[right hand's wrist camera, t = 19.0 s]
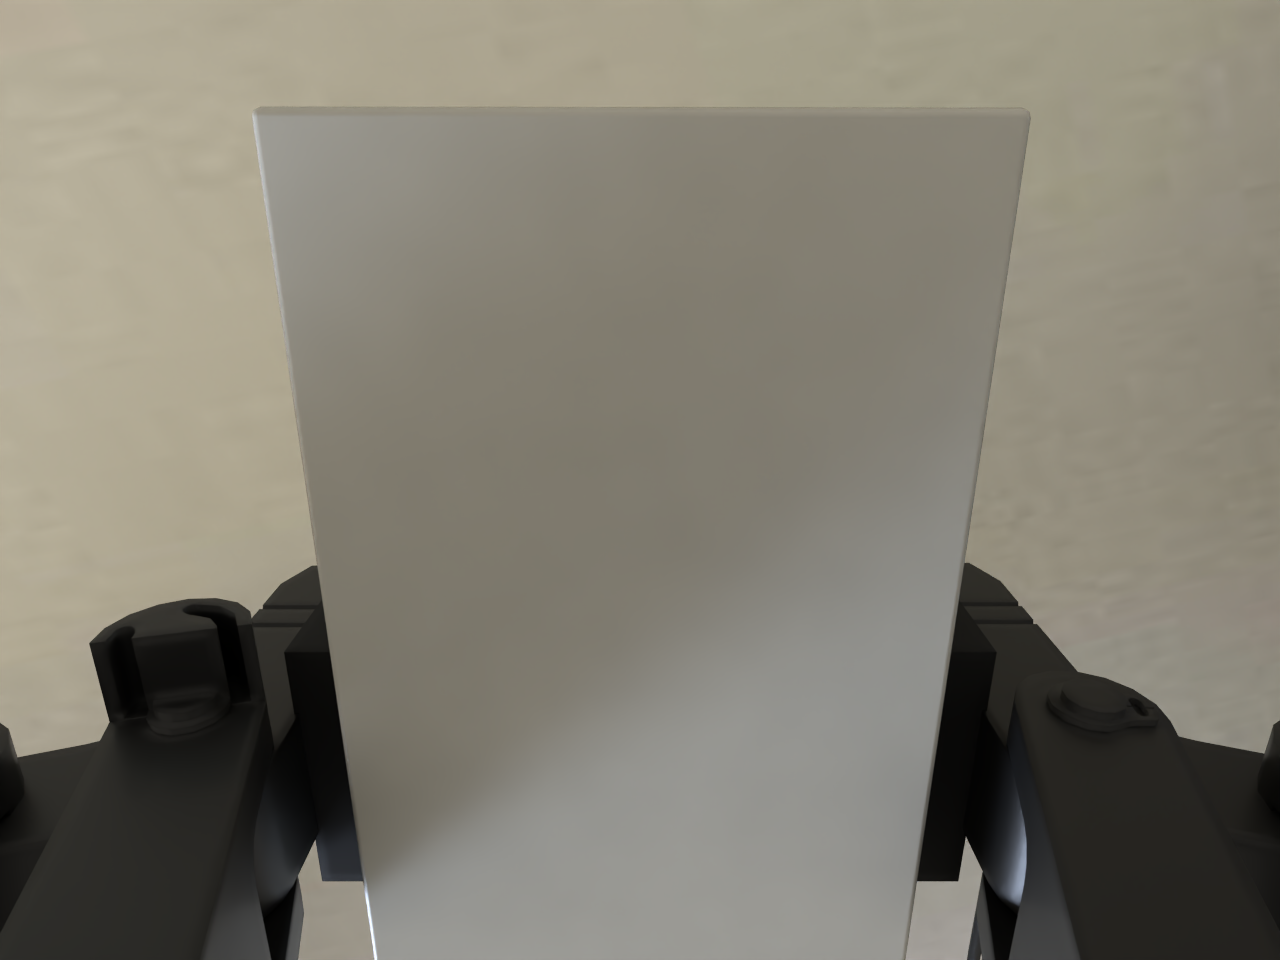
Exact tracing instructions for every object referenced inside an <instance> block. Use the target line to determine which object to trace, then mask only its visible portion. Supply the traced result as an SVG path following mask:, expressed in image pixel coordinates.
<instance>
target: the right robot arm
mask: <svg viewBox="0 0 1280 960" xmlns="http://www.w3.org/2000/svg"><path fill="white" fill-rule="evenodd" d="M89 644H90V648H91V652H92V656H93V660H94V664H95V667H96V671H97V675H98V679H99V683H100V687H101V690H102V694H103V698H104V702H105V706H106V710H107V714H108V717H109V721H110V723H109V725H108V727H107V729H106V731H105V732H104V734H103V736H102V738H101V740H100V741H98V742H94V743H90V744H86V745H80V746H75V747H70V748H65V749H59V750H54V751H49V752H44V753H38V754H33V755H28V756H23V757H18V758H17V755H16V752H15V748H14V745H13V742H12V739H11V735H10V732H9V729H8V728H6V727H5V726H4V725H2V724H1V723H0V960H298V955H299V947H300V940H301V932H302V924H303V916H304V909H303V902H302V895H301V890H300V884H299V879H298V874H299V872H300V870H301V868H302V866H303V864H304V862H305V860H306V858H307V855H308V853H309V851H310V849H311V847H312V845H313V843H314V841H315V840H316V846H317V852H318V858H319V864H320V870H321V875H322V881H363V876H362V869H361V862H360V855H359V848H358V842H357V835H356V828H355V821H354V814H353V807H352V800H351V793H350V786H349V780H348V773H347V766H346V759H345V752H344V745H343V738H342V731H341V725H340V718H339V711H338V704H337V697H336V690H335V683H334V676H333V670H332V663H331V656H330V649H329V642H328V635H327V628H326V621H325V614H324V608H323V601H322V594H321V587H320V580H319V573H318V566H311V567H309V568H307V569H306V570H304V571H302V572H301V573H299V574H297V575H295V576H294V577H292V578H290V579H289V580H287V581H285V582H283V583H282V584H280V586H279V587H278V588H277V589H276V590H275V592H274V593H273V594H272V595H271V596H270V597H269V599H268V600H267V601H266V602H265V603H264V605H263V609H259V610H258V612H257V613H256V614H255V615H254V616H253V618H252V619H251V614H250V611H249V610H247V609H246V608H245V607H243V606H242V605H240V604H239V603H238V602H233V601H228V600H223V599H217V598H207V599H186V600H181V601H176V602H170V603H165V604H160V605H156V606H153V607H150V608H147V609H145V610H142V611H139V612H136V613H133V614H130V615H128V616H126V617H124V618H122V619H121V620H119V621H117V622H115V623H113V624H112V625H110V626H108V627H106V628H104V629H103V630H102V631H101V632H100V633H99V634H98V635H97V636H96V637H95V638H94V639H93V640H92V641H91V642H90V643H89ZM966 837H967V839H968V841H969V843H970V846H971V848H972V850H973V852H974V854H975V856H976V858H977V860H978V862H979V864H980V866H981V868H982V870H983V873H982V879H981V884H980V890H979V895H978V901H977V906H976V912H975V917H974V923H973V928H972V934H971V939H970V945H969V950H968V957H967V960H980V956H981V954H982V960H1280V721H1278V722H1277V723H1276V724H1274V725H1273V728H1272V732H1271V735H1270V738H1269V741H1268V745H1267V748H1266V751H1265V754H1263V753H1258V752H1252V751H1247V750H1242V749H1236V748H1231V747H1226V746H1221V745H1215V744H1210V743H1205V742H1200V741H1195V740H1191V739H1187V738H1183V737H1179V736H1178V735H1177V733H1176V731H1175V729H1174V727H1173V725H1172V723H1171V721H1170V720H1169V719H1168V718H1167V717H1166V715H1165V714H1164V713H1163V712H1162V711H1161V710H1160V708H1159V707H1158V706H1157V705H1156V704H1155V703H1153V702H1152V701H1150V700H1149V699H1147V698H1146V697H1144V696H1143V695H1141V694H1139V693H1138V692H1136V691H1135V690H1133V689H1131V688H1129V687H1126V686H1124V685H1121V684H1119V683H1116V682H1114V681H1111V680H1109V679H1106V678H1103V677H1098V676H1094V675H1089V674H1085V673H1080V672H1077V670H1076V669H1075V668H1074V667H1073V666H1072V665H1071V663H1070V662H1069V661H1068V660H1067V659H1066V658H1065V656H1064V655H1063V654H1062V653H1061V652H1060V651H1059V649H1058V648H1057V647H1056V646H1055V645H1054V644H1053V642H1052V641H1051V640H1050V639H1049V638H1048V636H1047V635H1046V634H1045V633H1044V632H1043V631H1042V629H1041V628H1040V627H1039V626H1038V625H1037V624H1033V619H1032V618H1031V617H1030V615H1029V614H1028V613H1027V612H1026V611H1025V610H1024V608H1023V607H1022V606H1018V601H1017V600H1016V599H1015V598H1014V597H1013V596H1012V594H1011V593H1010V592H1009V591H1008V590H1007V588H1006V587H1005V586H1004V585H1003V584H1002V583H1001V581H999V580H997V579H996V578H994V577H992V576H991V575H989V574H987V573H985V572H984V571H982V570H980V569H979V568H977V567H975V566H973V565H972V564H970V563H964V568H963V575H962V582H961V588H960V595H959V602H958V608H957V615H956V622H955V629H954V635H953V642H952V649H951V655H950V662H949V669H948V676H947V682H946V689H945V696H944V702H943V709H942V716H941V722H940V729H939V736H938V743H937V749H936V756H935V763H934V769H933V776H932V783H931V790H930V796H929V803H928V810H927V816H926V823H925V830H924V837H923V843H922V850H921V857H920V863H919V870H918V877H917V881H958V879H959V873H960V867H961V861H962V855H963V849H964V844H965V838H966Z"/></svg>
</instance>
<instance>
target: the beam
mask: <svg viewBox="0 0 1280 960" xmlns="http://www.w3.org/2000/svg"><path fill="white" fill-rule="evenodd" d="M252 119H253V126H254V133H255V140H256V146H257V153H258V160H259V167H260V174H261V181H262V188H263V195H264V202H265V208H266V215H267V222H268V229H269V236H270V243H271V250H272V257H273V263H274V270H275V277H276V284H277V291H278V298H279V305H280V312H281V319H282V325H283V332H284V339H285V346H286V353H287V360H288V367H289V374H290V380H291V387H292V394H293V401H294V408H295V415H296V422H297V429H298V436H299V442H300V449H301V456H302V463H303V470H304V477H305V484H306V491H307V497H308V504H309V511H310V518H311V525H312V532H313V539H314V546H315V553H316V559H317V566H318V573H319V580H320V587H321V594H322V601H323V608H324V614H325V621H326V628H327V635H328V642H329V649H330V656H331V663H332V670H333V676H334V683H335V690H336V697H337V704H338V711H339V718H340V725H341V731H342V738H343V745H344V752H345V759H346V766H347V773H348V780H349V786H350V793H351V800H352V807H353V814H354V821H355V828H356V835H357V842H358V848H359V855H360V862H361V869H362V876H363V883H364V890H365V897H366V903H367V910H368V917H369V924H370V931H371V938H372V945H373V952H374V959H375V960H905V957H906V951H907V944H908V937H909V931H910V924H911V917H912V910H913V904H914V897H915V890H916V884H917V877H918V870H919V863H920V857H921V850H922V843H923V837H924V830H925V823H926V816H927V810H928V803H929V796H930V790H931V783H932V776H933V769H934V763H935V756H936V749H937V743H938V736H939V729H940V722H941V716H942V709H943V702H944V696H945V689H946V682H947V676H948V669H949V662H950V655H951V649H952V642H953V635H954V629H955V622H956V615H957V608H958V602H959V595H960V588H961V582H962V575H963V568H964V561H965V555H966V548H967V541H968V535H969V528H970V521H971V514H972V508H973V501H974V494H975V488H976V481H977V474H978V467H979V461H980V454H981V447H982V441H983V434H984V427H985V420H986V414H987V407H988V400H989V394H990V387H991V380H992V374H993V367H994V360H995V353H996V347H997V340H998V333H999V327H1000V320H1001V313H1002V306H1003V300H1004V293H1005V286H1006V280H1007V273H1008V266H1009V259H1010V253H1011V246H1012V239H1013V233H1014V226H1015V219H1016V212H1017V206H1018V199H1019V192H1020V186H1021V179H1022V172H1023V165H1024V159H1025V152H1026V145H1027V139H1028V132H1029V125H1030V112H1029V111H1027V110H1025V109H1023V108H765V107H259V108H257V109H255V110H254V111H253V115H252Z"/></svg>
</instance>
